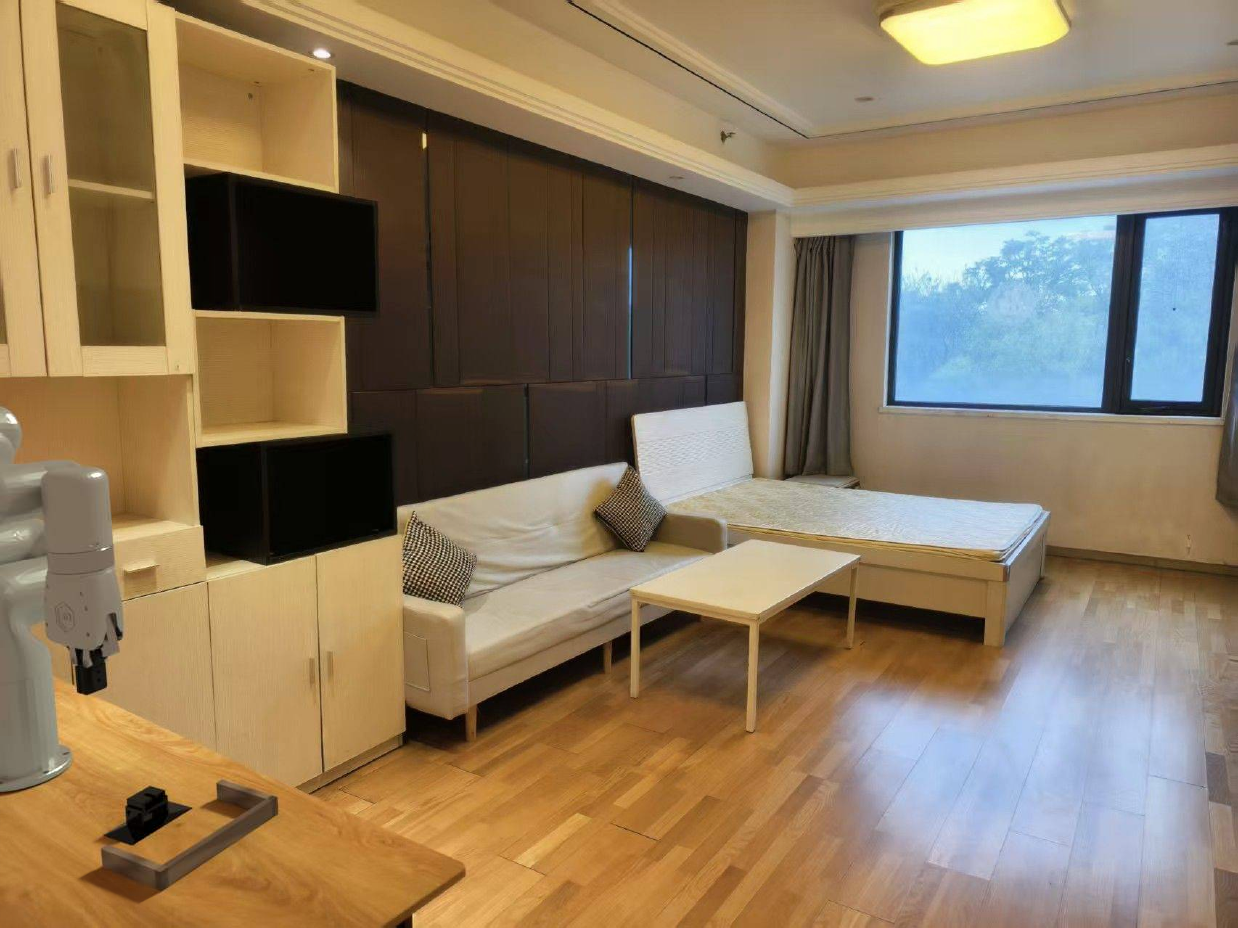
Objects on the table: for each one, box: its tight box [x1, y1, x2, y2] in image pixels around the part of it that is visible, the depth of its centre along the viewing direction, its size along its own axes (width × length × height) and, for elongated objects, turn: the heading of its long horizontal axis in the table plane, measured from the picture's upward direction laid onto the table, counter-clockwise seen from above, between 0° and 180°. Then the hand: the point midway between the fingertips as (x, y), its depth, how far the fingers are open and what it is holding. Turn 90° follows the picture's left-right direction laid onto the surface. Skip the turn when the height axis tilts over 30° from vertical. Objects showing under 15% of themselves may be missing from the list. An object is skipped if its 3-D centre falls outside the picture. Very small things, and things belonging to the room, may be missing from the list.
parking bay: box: [100, 779, 279, 892], centre depth 110 cm, size 10×18×2 cm, turn 156°
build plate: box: [103, 785, 194, 847], centre depth 114 cm, size 12×7×5 cm, turn 159°
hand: (92, 690), depth 115 cm, fingers closed
